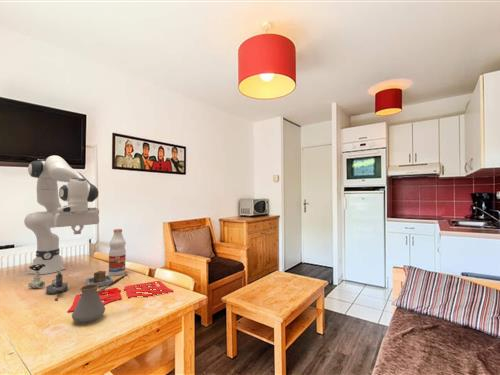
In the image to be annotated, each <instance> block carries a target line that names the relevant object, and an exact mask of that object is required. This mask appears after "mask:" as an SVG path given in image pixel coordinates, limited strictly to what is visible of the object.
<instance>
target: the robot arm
mask: <svg viewBox="0 0 500 375" xmlns="http://www.w3.org/2000/svg"><path fill="white" fill-rule="evenodd" d="M27 171H28V174H29V176H30V177H31V178H35V179H37V182H36V201H37V203H38V205H40V206H42V207H44V208H45V209H46V210H45V211H36V212H31V213H28V214H27V215H26V216H25V217H24V220H23V221H24V222H23V223H24V225H25V227H26V228H27V229H29V230H31V231H32V232H33V234H34V235H35V237H36V249H37V250H36V252H35V256H36V257H35V258H34V259H33V260H32V265H37V264H39V265H41V264H44V265H45V267H44V266H43V268H41V269H40V270H39V271H38V272H39V275H49V274H53V273H58V272H61V271H63V270H66V267H65V265H63V257H62V256H61V255H60V252H61V251H60V247H59V246H60V245H59V244H60V237H59V235H57V234H55V233H53V232H52V230H51V229H54V228H61V227H62V228H64V227H65V228H66V227H71V229H72V231H73V235H81V234H82V230H83V229H84V227H85V226H88V225H98V224H100V216H99V214H100V209H99V208H97V207H89V203H92V202H94V201H95V200H96V199H98V198H99V189H98V188H97V186H95V184H93V183H91V182H90V181H89V180H88V179H87V178H86V177H85V176H84V175H83V174H82V173H80V171H77V170H76V169H74V168H72V166H71V165H70V164H69V163H68V162H67V161H66V160H65V159H64V158H63V157H61V156H59V155H50V156H48V157H47V158H46V159H45V160H42V161H41V160H33V161H31V162H30V163H29V165H28V167H27ZM58 182H61V183H62V182H63V183H66V184H63V185H62V186H60V187H58V186H59V185H58ZM59 199H61V201H63V202H66V203H67V202H68V203H67V205H63V206H62V205H61V202H60V200H59ZM77 226H78V227H79V229H78V230H76V227H77ZM33 269H35V268H33ZM35 272H36V271H35V270H32V269H30V270H29V271H28V273H27V274H29V275H35Z"/></svg>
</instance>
